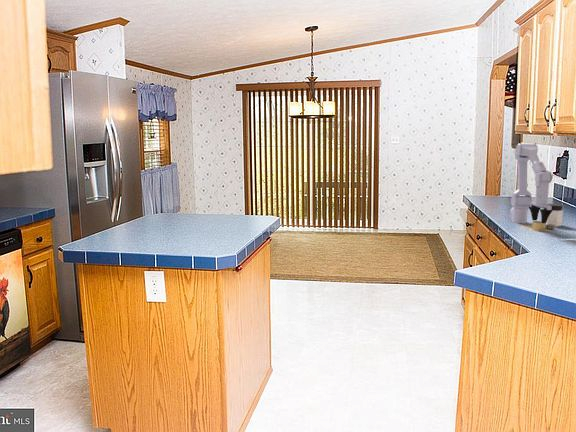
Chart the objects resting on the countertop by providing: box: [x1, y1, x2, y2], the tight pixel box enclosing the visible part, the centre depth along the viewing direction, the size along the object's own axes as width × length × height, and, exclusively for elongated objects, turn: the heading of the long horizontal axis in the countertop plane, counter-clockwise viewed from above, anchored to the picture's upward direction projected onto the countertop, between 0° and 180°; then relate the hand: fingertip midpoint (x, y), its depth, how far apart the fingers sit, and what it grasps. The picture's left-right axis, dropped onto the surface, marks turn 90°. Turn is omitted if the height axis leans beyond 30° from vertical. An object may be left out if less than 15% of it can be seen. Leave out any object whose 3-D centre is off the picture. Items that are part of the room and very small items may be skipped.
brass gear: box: [531, 220, 546, 232], centre depth 276 cm, size 5×5×4 cm
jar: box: [546, 203, 564, 227], centre depth 290 cm, size 9×8×12 cm
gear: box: [545, 223, 556, 230], centre depth 277 cm, size 5×5×3 cm
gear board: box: [519, 224, 559, 232], centre depth 280 cm, size 16×13×4 cm
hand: (539, 221), depth 276 cm, fingers open, 7 cm apart
